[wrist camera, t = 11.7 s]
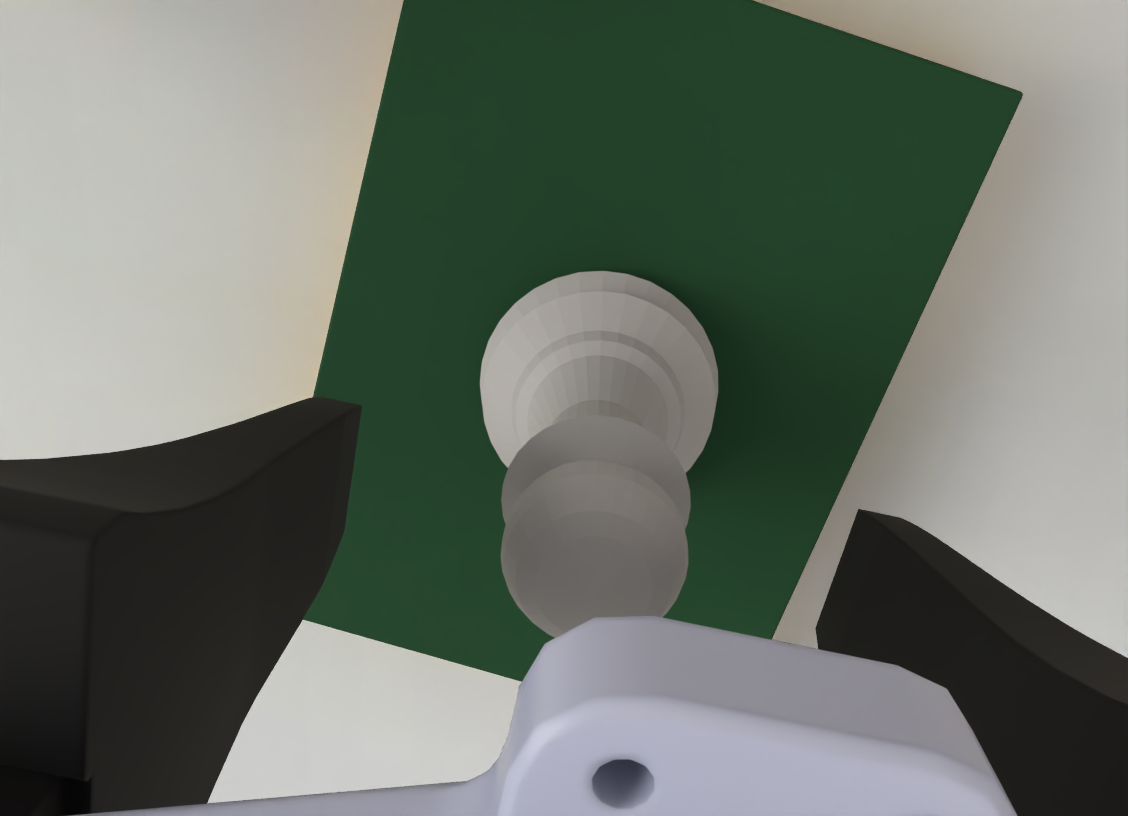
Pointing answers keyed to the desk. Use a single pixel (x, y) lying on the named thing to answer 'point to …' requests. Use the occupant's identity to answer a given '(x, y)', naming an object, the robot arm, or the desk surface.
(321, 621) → the sponge
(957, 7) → the desk surface
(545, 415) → the chess piece
